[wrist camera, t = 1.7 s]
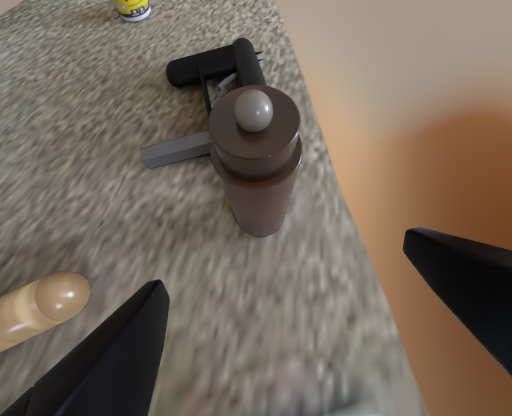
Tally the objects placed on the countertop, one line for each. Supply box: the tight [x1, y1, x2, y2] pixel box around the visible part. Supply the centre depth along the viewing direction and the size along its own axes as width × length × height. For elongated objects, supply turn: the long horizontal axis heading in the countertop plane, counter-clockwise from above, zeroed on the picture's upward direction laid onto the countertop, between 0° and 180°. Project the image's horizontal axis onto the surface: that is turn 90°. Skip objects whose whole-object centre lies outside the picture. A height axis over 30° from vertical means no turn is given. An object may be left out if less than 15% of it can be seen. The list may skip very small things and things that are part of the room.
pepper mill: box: [208, 85, 303, 237], centre depth 15 cm, size 5×5×14 cm
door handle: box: [141, 38, 301, 169], centre depth 24 cm, size 3×20×16 cm
